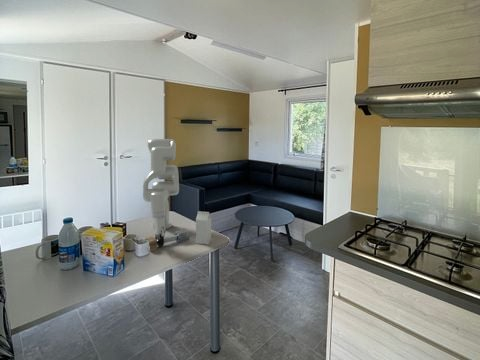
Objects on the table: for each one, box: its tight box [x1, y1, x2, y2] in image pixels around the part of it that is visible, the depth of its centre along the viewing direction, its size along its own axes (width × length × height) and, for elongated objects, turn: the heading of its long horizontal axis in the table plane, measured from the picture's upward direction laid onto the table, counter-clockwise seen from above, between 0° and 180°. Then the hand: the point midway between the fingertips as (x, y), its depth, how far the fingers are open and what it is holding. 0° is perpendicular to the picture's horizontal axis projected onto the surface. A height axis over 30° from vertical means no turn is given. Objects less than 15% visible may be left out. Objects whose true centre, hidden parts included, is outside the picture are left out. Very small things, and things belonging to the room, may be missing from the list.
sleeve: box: [174, 228, 190, 244], centre depth 168 cm, size 5×7×6 cm
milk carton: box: [195, 210, 212, 245], centre depth 166 cm, size 7×7×19 cm
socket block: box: [144, 235, 158, 252], centre depth 157 cm, size 7×4×6 cm, turn 37°
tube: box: [156, 234, 178, 248], centre depth 162 cm, size 4×17×7 cm, turn 127°
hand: (159, 243), depth 160 cm, fingers closed on tube, 3 cm apart
